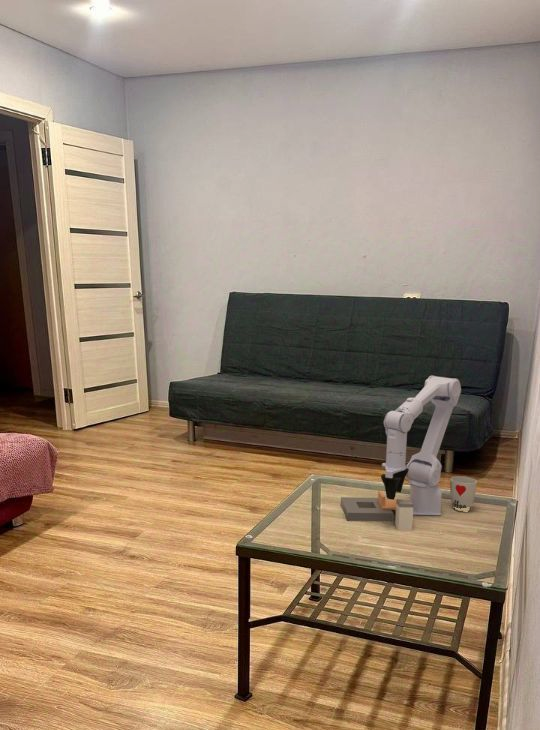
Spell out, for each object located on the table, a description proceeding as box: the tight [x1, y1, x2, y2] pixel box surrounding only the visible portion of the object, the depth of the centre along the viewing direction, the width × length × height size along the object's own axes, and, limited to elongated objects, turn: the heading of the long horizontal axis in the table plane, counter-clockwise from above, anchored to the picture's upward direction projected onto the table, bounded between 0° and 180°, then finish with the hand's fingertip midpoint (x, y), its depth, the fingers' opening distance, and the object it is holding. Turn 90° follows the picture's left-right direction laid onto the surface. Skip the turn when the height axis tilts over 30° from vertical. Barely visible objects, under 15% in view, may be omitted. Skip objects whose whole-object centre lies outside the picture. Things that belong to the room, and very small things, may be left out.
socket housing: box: [340, 496, 394, 522], centre depth 188 cm, size 14×14×2 cm
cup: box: [449, 475, 478, 509], centre depth 192 cm, size 8×8×10 cm
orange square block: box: [377, 490, 397, 511], centre depth 187 cm, size 8×8×4 cm
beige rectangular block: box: [394, 498, 414, 532], centre depth 176 cm, size 4×4×8 cm
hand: (394, 495), depth 179 cm, fingers open, 7 cm apart
